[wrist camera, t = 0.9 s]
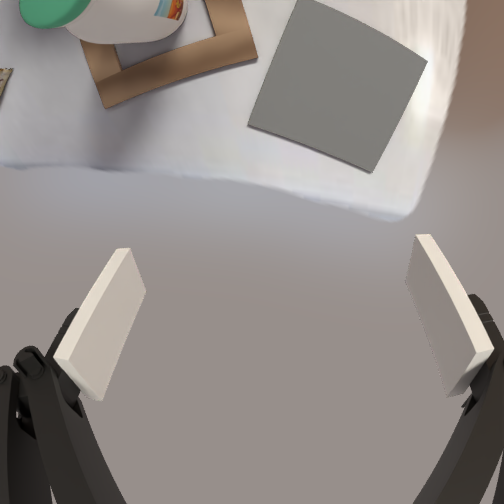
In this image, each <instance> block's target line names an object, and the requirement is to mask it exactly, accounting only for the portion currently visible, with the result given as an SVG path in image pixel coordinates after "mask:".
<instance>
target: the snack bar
mask: <svg viewBox="0 0 504 504" xmlns="http://www.w3.org/2000/svg"><path fill="white" fill-rule="evenodd" d="M5 69H7V68H5ZM10 69H11V68H10ZM10 69H9V70H4V69H2V68H1V69H0V96H1V93H2V91H3V89H4V86H5V84H6V81H7V79H8V77H9V75H10V73H11V72H12V69H13V68H12V69H11V70H10Z"/></svg>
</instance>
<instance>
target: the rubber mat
mask: <svg viewBox="0 0 504 504" xmlns="http://www.w3.org/2000/svg"><path fill="white" fill-rule="evenodd" d="M427 62H428V61H427V60H425V59H424V58H422V57H421V56H419V55H418V54H416V53H414V52H413V51H411V50H410V49H408V48H406V47H405V46H403V45H402V44H400V43H398V42H397V41H395V40H393V39H392V38H390V37H388V36H386V35H385V34H383V33H381V32H379V31H377V30H376V29H374V28H372V27H370V26H368V25H366V24H364V23H362V22H360V21H358V20H356V19H354V18H352V17H350V16H348V15H346V14H344V13H342V12H340V11H337V10H335V9H333V8H331V7H328V6H326V5H324V4H321V3H319V2H317V1H314V0H298V1H297V3H296V5H295V8H294V10H293V12H292V14H291V17H290V19H289V22H288V24H287V26H286V29H285V31H284V33H283V36H282V38H281V41H280V43H279V45H278V48H277V50H276V53H275V55H274V58H273V60H272V63H271V65H270V68H269V70H268V73H267V75H266V78H265V80H264V83H263V85H262V88H261V90H260V93H259V95H258V98H257V101H256V103H255V106H254V109H253V111H252V114H251V116H250V119H249V122H248V125H251V126H254V127H257V128H260V129H263V130H266V131H269V132H272V133H275V134H278V135H280V136H283V137H286V138H289V139H291V140H294V141H297V142H299V143H302V144H305V145H307V146H310V147H313V148H315V149H318V150H320V151H323V152H325V153H328V154H330V155H332V156H335V157H337V158H340V159H342V160H344V161H347V162H349V163H351V164H354V165H356V166H358V167H361V168H363V169H365V170H367V171H370V172H373V171H374V169H375V167H376V165H377V163H378V161H379V159H380V157H381V156H382V154H383V152H384V150H385V148H386V146H387V144H388V142H389V140H390V138H391V136H392V134H393V132H394V131H395V129H396V127H397V125H398V123H399V121H400V119H401V117H402V115H403V113H404V111H405V109H406V107H407V104H408V102H409V100H410V98H411V96H412V94H413V92H414V90H415V88H416V86H417V84H418V82H419V79H420V77H421V75H422V73H423V71H424V69H425V66H426V64H427Z"/></svg>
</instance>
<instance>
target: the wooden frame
mask: <svg viewBox="0 0 504 504" xmlns="http://www.w3.org/2000/svg"><path fill="white" fill-rule="evenodd" d="M205 2H206V5H207V9H208V12H209V15H210V18H211V21H212V24H213V27H214V31H215V34H216V36H215V37H212V38H208V39H205V40H202V41H198V42H195V43H192V44H189V45H186V46H183V47H180V48H177V49H174V50H172V51H169V52H166V53H164V54H161V55H158V56H156V57H153V58H151V59H148V60H146V61H143V62H141V63H138V64H136V65H134V66H131V67H129V68H127V69H124V70H123V69H122V67H121V64H120V61H119V58H118V55H117V52H116V49H115V47H114V44H96V43H91V42H87V41H84V40H81V39H80V41H81V44H82V47H83V50H84V53H85V56H86V59H87V62H88V65H89V68H90V70H91V73H92V76H93V79H94V81H95V84H96V87H97V89H98V92H99V95H100V97H101V100H102V103H103V105H104V108H105V109H107V108H109V107H111V106H114V105H116V104H118V103H120V102H123V101H125V100H127V99H130V98H132V97H135V96H137V95H140V94H142V93H145V92H147V91H150V90H152V89H155V88H158V87H160V86H163V85H166V84H169V83H172V82H174V81H177V80H180V79H183V78H186V77H189V76H192V75H196V74H199V73H202V72H205V71H209V70H212V69H215V68H219V67H223V66H226V65H230V64H234V63H238V62H241V61H245V60H250V59H254V58H258V55H257V51H256V48H255V44H254V41H253V37H252V34H251V30H250V27H249V24H248V20H247V17H246V14H245V11H244V7H243V4H242V1H241V0H205Z"/></svg>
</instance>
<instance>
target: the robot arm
mask: <svg viewBox="0 0 504 504" xmlns="http://www.w3.org/2000/svg"><path fill="white" fill-rule="evenodd" d="M405 283H406V285H407V287H408V290H409V292H410V295H411V297H412V299H413V302H414V304H415V307H416V309H417V312H418V314H419V317H420V320H421V322H422V325H423V327H424V330H425V333H426V336H427V338H428V341H429V344H430V347H431V350H432V352H433V355H434V358H435V361H436V364H437V367H438V370H439V373H440V377H441V380H442V383H443V386H444V390H445V393H446V396H447V397H451V396H456V395H460V394H463V393H464V392H465V391H466V389H467V388H468V387H469V385H470V387H471V390H472V394H471V395H470V396H469V398H468V399H467V400H466V401H465V402H464V404H463V405H462V407H465V408H464V411H463V413H462V415H461V417H460V420H459V422H458V424H457V426H456V428H455V430H454V432H453V434H452V436H451V439H450V440H449V442H448V444H447V446H446V448H445V450H444V452H443V454H442V456H441V458H440V460H439V461H438V463H437V465H436V467H435V468H434V470H433V472H432V474H431V475H430V477H429V479H428V480H427V482H426V484H425V485H424V487H423V488H422V490H421V492H420V493H419V495H418V496H417V498H416V499H415V501H414V502H413V504H479V503H480V501H481V499H482V497H483V495H484V493H485V491H486V489H487V487H488V485H489V482H490V480H491V478H492V476H493V473H494V471H495V469H496V466H497V464H498V461H499V459H500V456H501V454H502V451H503V457H502V462H501V467H500V473H499V478H498V482H497V487H496V491H495V495H494V499H493V503H492V504H504V450H503V448H504V340H503V338H502V336H501V334H500V332H499V330H498V328H497V326H496V324H495V322H493V318H492V317H491V315H490V314H489V311H488V309H487V307H486V306H485V304H484V303H483V301H482V300H481V299H480V298H479V297H478V296H476V295H475V294H471V295H467V294H466V292H465V290H464V289H463V287H462V285H461V283H460V282H459V280H458V278H457V276H456V275H455V273H454V271H453V270H452V268H451V266H450V265H449V263H448V261H447V260H446V258H445V257H444V255H443V254H442V252H441V250H440V249H439V247H438V246H437V244H436V242H435V241H434V239H433V238H432V237H431V235H430V234H420V235H415V240H414V245H413V250H412V255H411V259H410V263H409V268H408V272H407V276H406V280H405ZM145 294H146V289H145V286H144V284H143V281H142V278H141V276H140V273H139V271H138V268H137V265H136V262H135V260H134V257H133V254H132V251H131V249H130V248H119V249H116V251H115V252H114V254H113V255H112V257H111V258H110V260H109V261H108V263H107V265H106V266H105V268H104V269H103V271H102V272H101V274H100V276H99V277H98V279H97V280H96V282H95V284H94V285H93V287H92V289H91V290H90V292H89V294H88V295H87V297H86V299H85V300H84V302H83V304H82V305H81V307H80V308H75V309H74V310H73V311H72V312H71V313H70V314H69V315H68V316H67V318H66V319H65V321H64V323H63V325H62V327H61V328H60V330H59V332H58V334H57V335H56V337H55V339H54V341H53V343H52V344H51V347H50V348H49V350H48V352H47V354H46V356H45V357H44V356H43V355H42V354H41V352H40V351H39V350H38V348H36V347H35V346H27V347H25V348H23V349H22V350H20V351H19V353H18V354H17V355H16V357H15V359H14V363H13V366H14V367H15V368H16V369H17V370H18V371H19V372H17V373H15V372H14V371H13V370H12V369H11V368H10V367H9V366H2V367H0V504H52V497H51V490H50V486H51V489H52V492H53V494H54V497H55V500H56V502H57V504H126V502H125V500H124V498H123V496H122V494H121V492H120V491H119V489H118V487H117V485H116V483H115V481H114V479H113V477H112V475H111V473H110V470H109V468H108V466H107V464H106V462H105V460H104V457H103V455H102V453H101V451H100V448H99V446H98V444H97V441H96V439H95V436H94V434H93V431H92V429H91V426H90V424H89V421H88V418H87V416H86V413H85V410H84V408H83V405H82V402H81V400H80V398H79V397H78V395H79V393H80V391H81V392H82V393H83V394H84V395H85V396H86V397H87V398H89V399H94V400H99V401H102V400H103V398H104V395H105V392H106V389H107V387H108V384H109V381H110V379H111V376H112V374H113V371H114V368H115V366H116V363H117V361H118V358H119V356H120V353H121V350H122V348H123V346H124V343H125V341H126V338H127V335H128V333H129V331H130V329H131V326H132V324H133V322H134V319H135V317H136V314H137V312H138V310H139V308H140V305H141V303H142V301H143V298H144V296H145ZM465 405H466V406H465ZM16 411H17V412H18V418H16Z"/></svg>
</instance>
